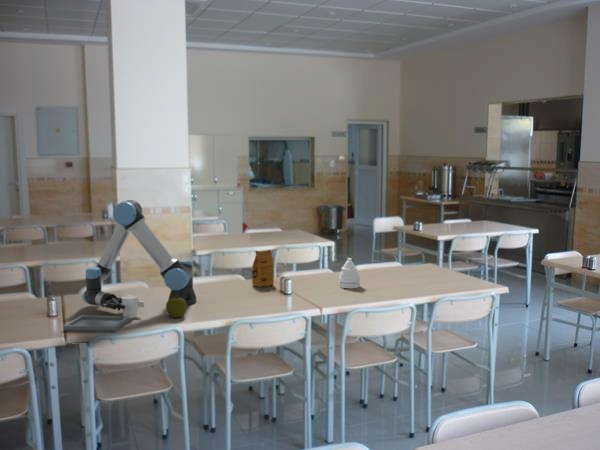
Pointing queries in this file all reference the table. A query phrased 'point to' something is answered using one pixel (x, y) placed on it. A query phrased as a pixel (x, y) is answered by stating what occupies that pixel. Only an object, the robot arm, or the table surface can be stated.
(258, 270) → the coffee package
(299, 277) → the table surface
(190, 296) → the robot arm
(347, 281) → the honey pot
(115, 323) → the tray
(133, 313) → the white cup
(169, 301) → the apple
